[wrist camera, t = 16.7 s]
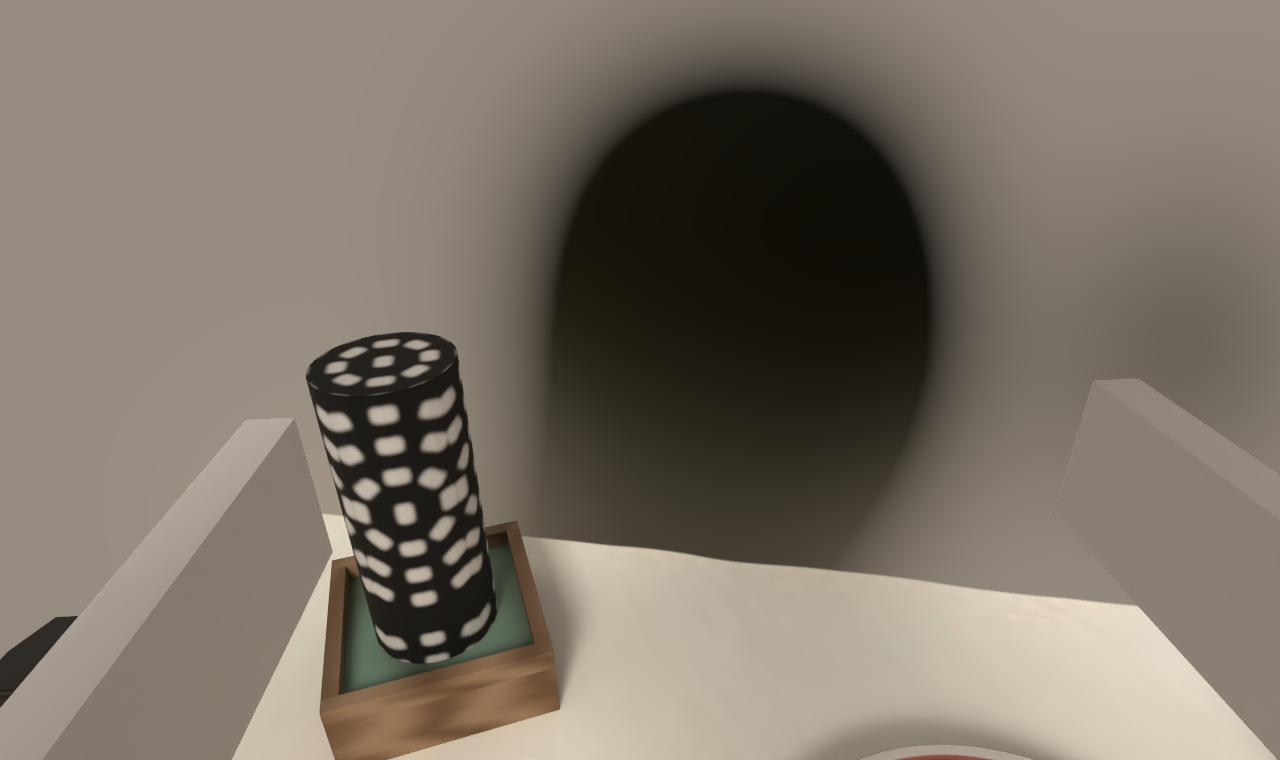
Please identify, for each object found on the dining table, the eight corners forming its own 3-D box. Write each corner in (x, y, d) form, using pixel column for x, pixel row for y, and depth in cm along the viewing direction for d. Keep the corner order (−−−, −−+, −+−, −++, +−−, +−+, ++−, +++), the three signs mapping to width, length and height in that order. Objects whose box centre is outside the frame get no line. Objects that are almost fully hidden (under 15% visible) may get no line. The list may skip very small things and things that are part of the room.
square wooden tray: (523, 572, 60) (517, 520, 58) (559, 709, 48) (553, 651, 46) (347, 614, 57) (332, 560, 54) (339, 773, 45) (319, 713, 42)
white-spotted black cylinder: (379, 587, 53) (316, 341, 44) (493, 565, 55) (455, 325, 46) (371, 676, 46) (294, 406, 37) (502, 648, 48) (459, 383, 39)
